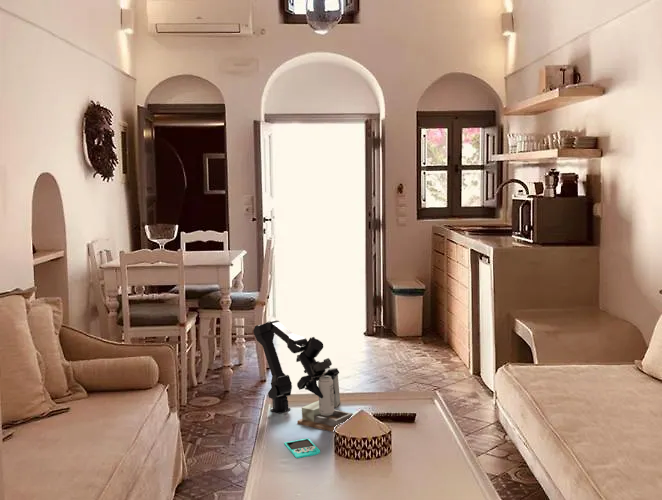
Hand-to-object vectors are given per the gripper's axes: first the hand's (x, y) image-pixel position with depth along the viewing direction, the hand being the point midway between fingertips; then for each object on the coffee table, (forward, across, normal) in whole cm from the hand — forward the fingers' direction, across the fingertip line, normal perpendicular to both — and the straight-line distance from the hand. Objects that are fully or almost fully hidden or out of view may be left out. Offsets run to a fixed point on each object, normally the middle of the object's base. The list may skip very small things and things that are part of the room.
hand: (328, 395), depth 295 cm
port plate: (+6, +4, +13) cm, 15 cm away
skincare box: (-6, +20, +25) cm, 33 cm away
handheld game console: (+17, -22, +3) cm, 28 cm away
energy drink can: (+5, 0, +6) cm, 8 cm away
